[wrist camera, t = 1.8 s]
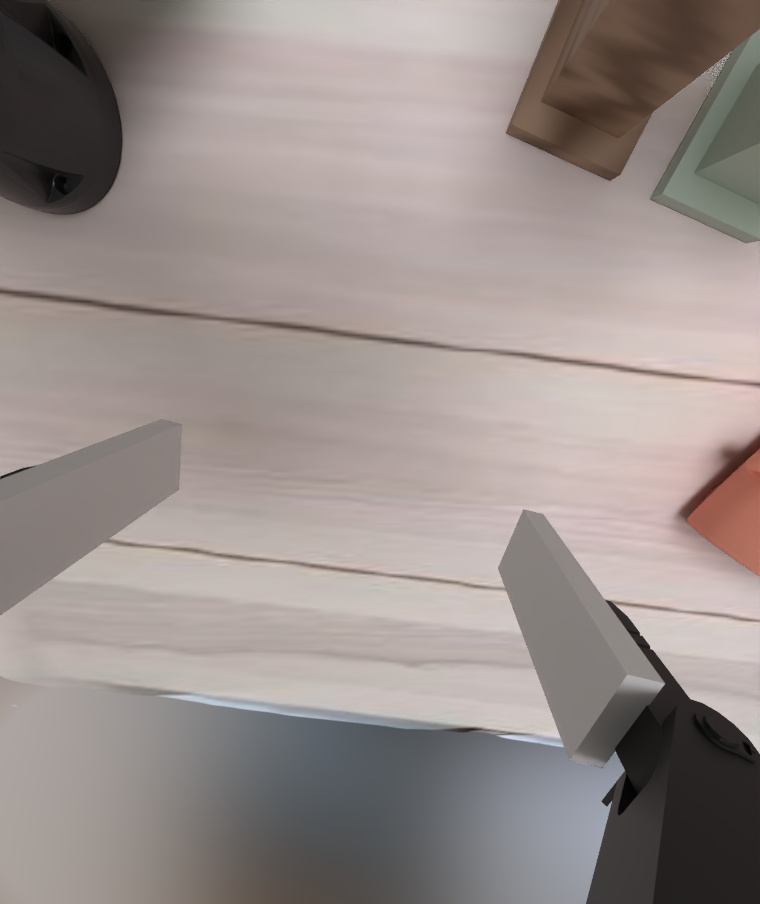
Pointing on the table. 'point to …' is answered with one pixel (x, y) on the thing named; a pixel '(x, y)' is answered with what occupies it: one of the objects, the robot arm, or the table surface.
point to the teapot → (734, 515)
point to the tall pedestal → (620, 71)
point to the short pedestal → (722, 152)
